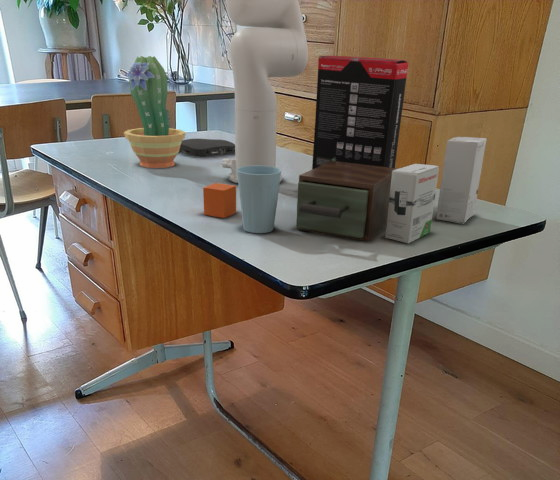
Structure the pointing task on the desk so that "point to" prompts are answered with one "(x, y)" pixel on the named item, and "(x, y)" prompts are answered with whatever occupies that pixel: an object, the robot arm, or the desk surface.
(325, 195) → the two-tone handled box
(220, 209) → the plain orange cube
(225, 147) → the media streaming box
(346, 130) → the graphics card box
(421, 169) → the ink box
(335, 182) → the cabinet
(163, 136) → the potted cactus
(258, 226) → the cup
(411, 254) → the desk surface
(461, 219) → the cosmetic box
